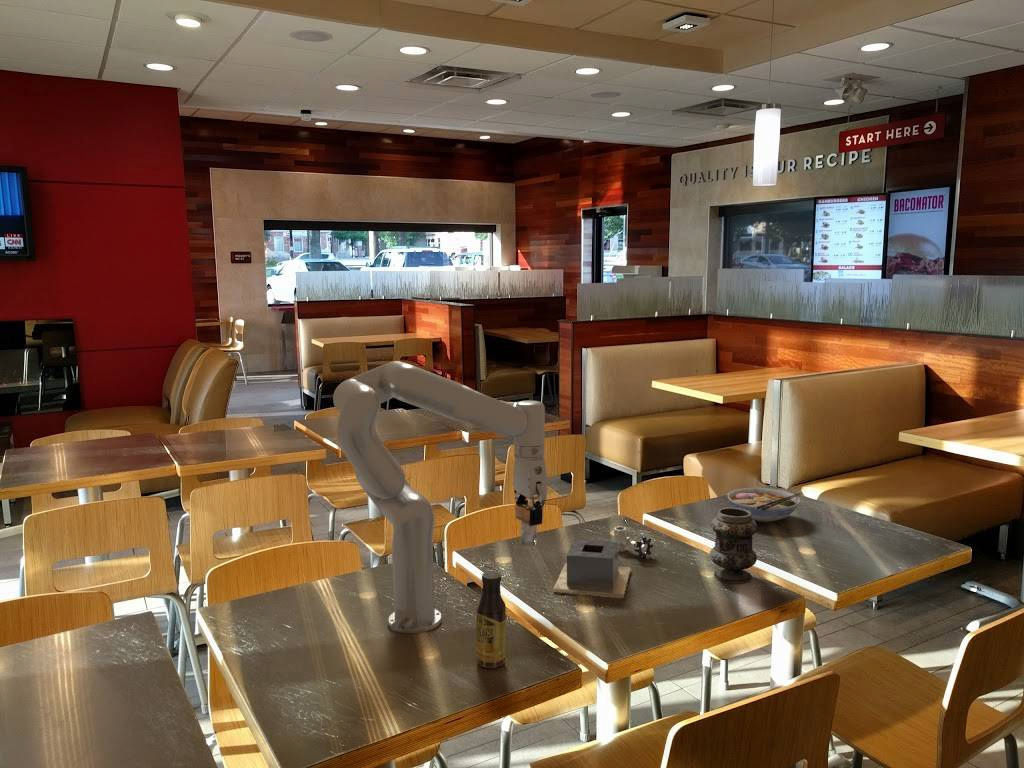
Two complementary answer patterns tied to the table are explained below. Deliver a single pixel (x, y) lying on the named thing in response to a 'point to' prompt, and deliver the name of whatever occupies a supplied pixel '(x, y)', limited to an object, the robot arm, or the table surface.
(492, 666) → the sauce bottle
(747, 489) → the ramen bowl
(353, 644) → the table surface
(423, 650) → the table surface
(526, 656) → the table surface
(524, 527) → the pin
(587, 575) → the block
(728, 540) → the apothecary jar
